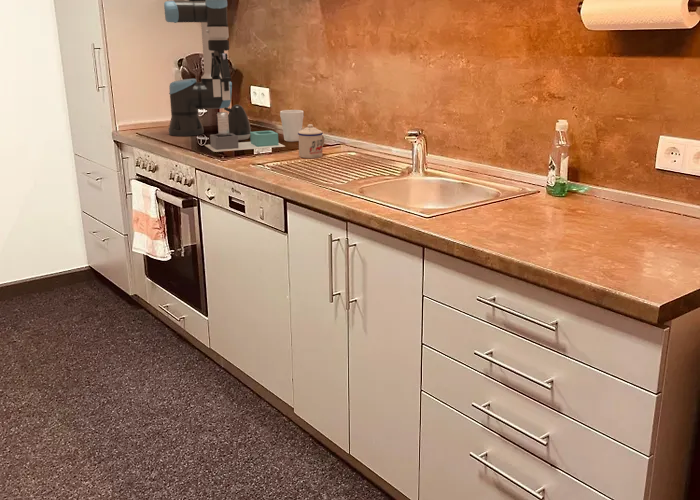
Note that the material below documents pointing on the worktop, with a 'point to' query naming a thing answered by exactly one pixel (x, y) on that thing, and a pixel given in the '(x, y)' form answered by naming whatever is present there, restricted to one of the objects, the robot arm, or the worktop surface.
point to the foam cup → (291, 124)
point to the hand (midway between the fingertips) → (221, 98)
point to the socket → (264, 138)
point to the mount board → (232, 143)
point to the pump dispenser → (238, 122)
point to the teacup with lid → (310, 142)
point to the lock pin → (223, 124)
